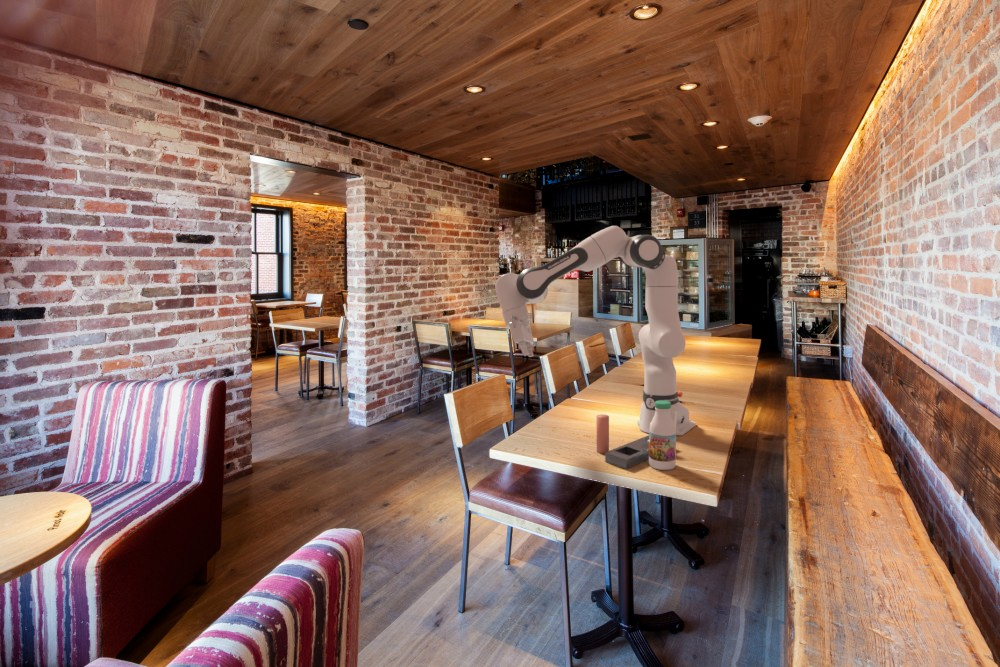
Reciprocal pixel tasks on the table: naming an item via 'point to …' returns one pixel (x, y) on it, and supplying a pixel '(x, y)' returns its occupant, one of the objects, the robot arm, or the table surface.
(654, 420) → the milk bottle
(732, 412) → the table surface
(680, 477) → the table surface
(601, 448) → the red peg
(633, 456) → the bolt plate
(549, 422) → the table surface
